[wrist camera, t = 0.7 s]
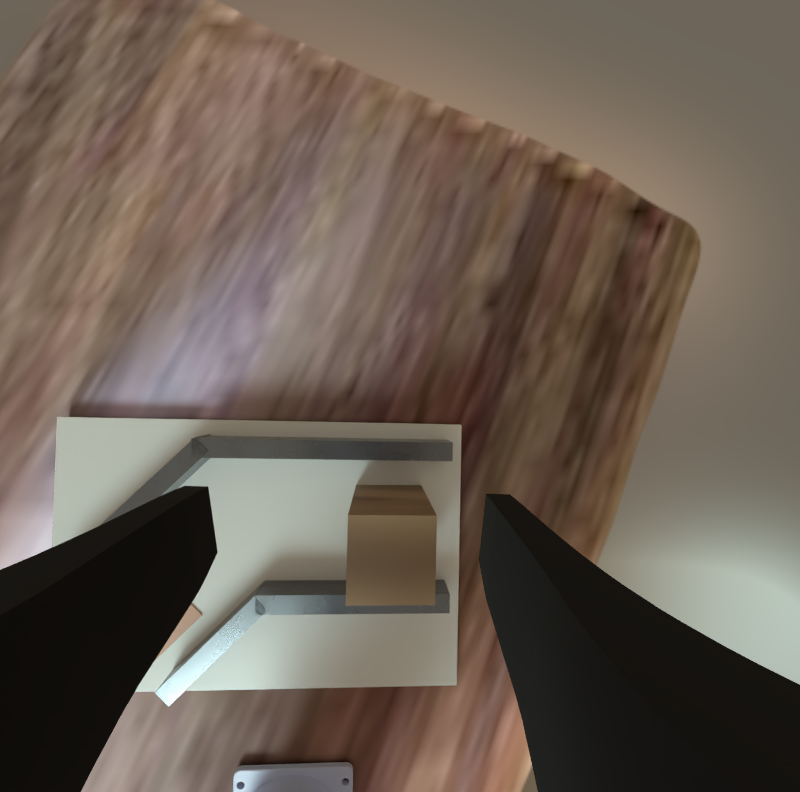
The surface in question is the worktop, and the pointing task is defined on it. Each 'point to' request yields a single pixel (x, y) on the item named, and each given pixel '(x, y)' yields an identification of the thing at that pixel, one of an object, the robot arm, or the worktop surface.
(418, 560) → the walnut block
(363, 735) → the worktop surface
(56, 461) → the channel board
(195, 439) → the rails
